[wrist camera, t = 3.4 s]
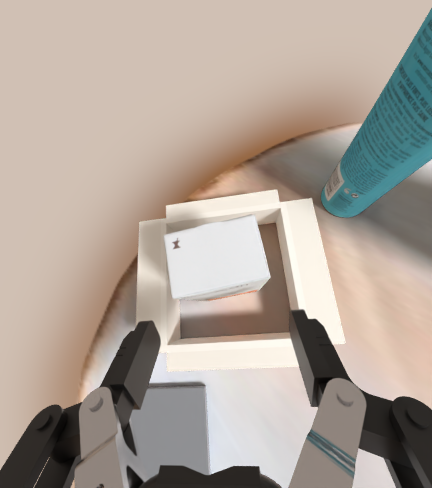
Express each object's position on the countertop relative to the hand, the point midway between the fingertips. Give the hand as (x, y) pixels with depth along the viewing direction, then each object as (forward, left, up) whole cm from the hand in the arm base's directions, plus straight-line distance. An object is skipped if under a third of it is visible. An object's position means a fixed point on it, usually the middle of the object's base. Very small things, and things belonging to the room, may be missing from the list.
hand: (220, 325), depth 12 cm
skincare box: (0, -4, -11) cm, 12 cm away
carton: (0, -4, -11) cm, 12 cm away
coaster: (+8, +11, -11) cm, 17 cm away
